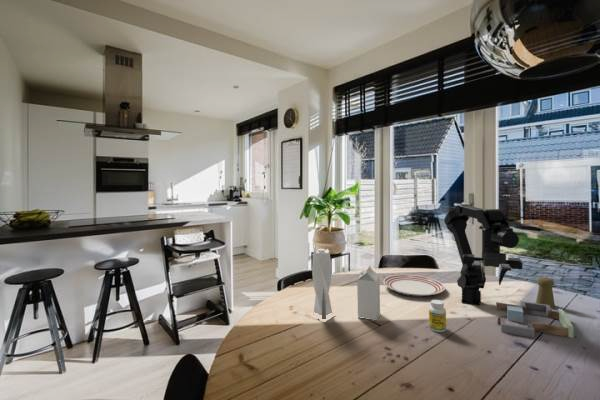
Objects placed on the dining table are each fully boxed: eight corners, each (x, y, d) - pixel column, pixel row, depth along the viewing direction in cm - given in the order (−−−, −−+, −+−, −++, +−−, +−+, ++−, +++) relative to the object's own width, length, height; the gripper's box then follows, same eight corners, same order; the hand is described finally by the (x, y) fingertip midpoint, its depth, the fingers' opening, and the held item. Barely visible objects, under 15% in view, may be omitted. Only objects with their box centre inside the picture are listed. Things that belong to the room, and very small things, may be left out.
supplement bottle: (444, 326, 107) (444, 299, 106) (447, 333, 102) (447, 305, 101) (428, 324, 108) (428, 298, 108) (429, 331, 103) (429, 304, 103)
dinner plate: (448, 285, 149) (448, 278, 148) (440, 305, 125) (440, 297, 125) (392, 277, 163) (392, 271, 163) (375, 293, 140) (375, 286, 140)
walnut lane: (497, 324, 107) (497, 317, 107) (496, 308, 120) (496, 302, 120) (568, 336, 97) (568, 329, 97) (558, 318, 110) (558, 311, 110)
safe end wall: (568, 336, 97) (568, 326, 97) (558, 318, 110) (558, 308, 110) (573, 337, 97) (573, 327, 96) (562, 318, 110) (562, 309, 110)
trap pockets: (501, 331, 102) (501, 324, 102) (497, 303, 125) (498, 297, 125) (565, 343, 93) (565, 335, 93) (549, 311, 116) (549, 305, 116)
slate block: (507, 320, 110) (507, 309, 110) (506, 315, 114) (507, 305, 114) (523, 323, 108) (523, 312, 108) (521, 318, 112) (521, 307, 111)
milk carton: (380, 313, 118) (379, 265, 117) (376, 321, 112) (375, 270, 111) (362, 311, 121) (361, 264, 120) (357, 318, 115) (356, 269, 114)
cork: (558, 308, 118) (559, 281, 118) (541, 307, 120) (541, 280, 119) (549, 302, 124) (549, 276, 124) (532, 301, 125) (532, 275, 125)
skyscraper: (307, 317, 118) (305, 246, 116) (320, 310, 124) (319, 242, 122) (324, 323, 112) (322, 248, 111) (337, 316, 118) (336, 245, 117)
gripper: (461, 244, 111) (461, 286, 112) (524, 249, 102) (524, 294, 102) (463, 239, 121) (463, 278, 122) (520, 243, 111) (520, 284, 112)
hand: (490, 283), depth 114 cm, fingers open, 5 cm apart
